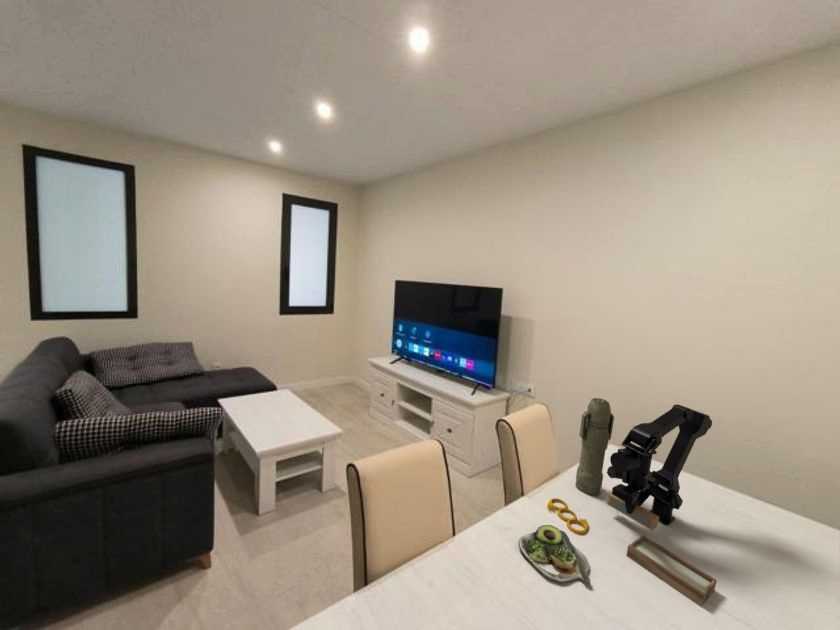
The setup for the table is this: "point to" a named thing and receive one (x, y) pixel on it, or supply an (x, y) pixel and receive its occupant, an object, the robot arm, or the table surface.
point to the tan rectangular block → (635, 513)
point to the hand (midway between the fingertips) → (632, 511)
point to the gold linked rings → (568, 520)
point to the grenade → (594, 445)
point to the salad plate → (555, 554)
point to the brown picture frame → (672, 569)
